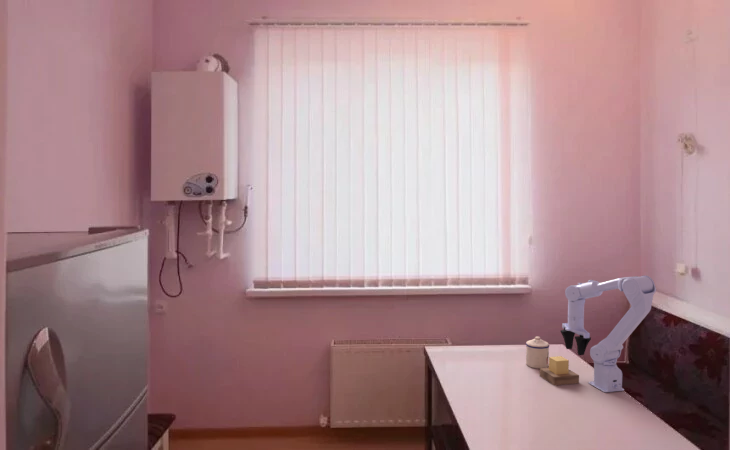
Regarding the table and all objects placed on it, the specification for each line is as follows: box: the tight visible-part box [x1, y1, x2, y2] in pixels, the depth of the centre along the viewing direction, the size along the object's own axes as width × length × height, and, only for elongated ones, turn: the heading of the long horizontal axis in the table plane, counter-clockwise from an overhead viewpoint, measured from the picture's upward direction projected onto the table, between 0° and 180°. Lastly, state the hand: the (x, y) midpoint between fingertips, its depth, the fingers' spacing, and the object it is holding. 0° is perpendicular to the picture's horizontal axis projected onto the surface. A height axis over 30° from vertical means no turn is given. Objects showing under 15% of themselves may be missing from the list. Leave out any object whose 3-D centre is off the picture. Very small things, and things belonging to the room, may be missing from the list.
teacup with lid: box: [525, 336, 550, 369], centre depth 218 cm, size 12×9×12 cm
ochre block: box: [548, 355, 570, 375], centre depth 200 cm, size 5×5×5 cm
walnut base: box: [539, 367, 580, 386], centre depth 200 cm, size 10×10×3 cm
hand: (574, 351), depth 204 cm, fingers open, 7 cm apart
